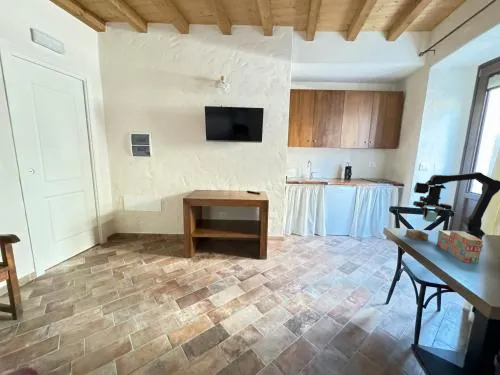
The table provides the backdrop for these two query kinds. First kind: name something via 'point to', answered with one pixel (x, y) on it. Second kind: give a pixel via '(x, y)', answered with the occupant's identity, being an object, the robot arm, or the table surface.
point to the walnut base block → (417, 234)
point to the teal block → (430, 216)
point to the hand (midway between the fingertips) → (429, 218)
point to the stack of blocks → (460, 245)
